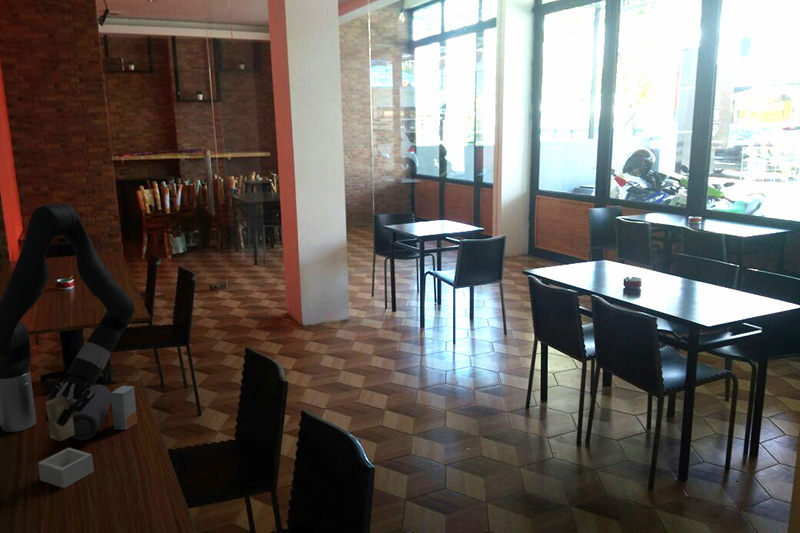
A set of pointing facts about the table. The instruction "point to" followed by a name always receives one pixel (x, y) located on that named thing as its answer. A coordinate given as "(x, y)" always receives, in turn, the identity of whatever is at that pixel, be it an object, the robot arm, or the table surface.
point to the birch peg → (54, 412)
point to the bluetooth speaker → (92, 413)
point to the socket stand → (66, 467)
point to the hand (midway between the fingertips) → (53, 422)
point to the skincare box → (123, 407)
